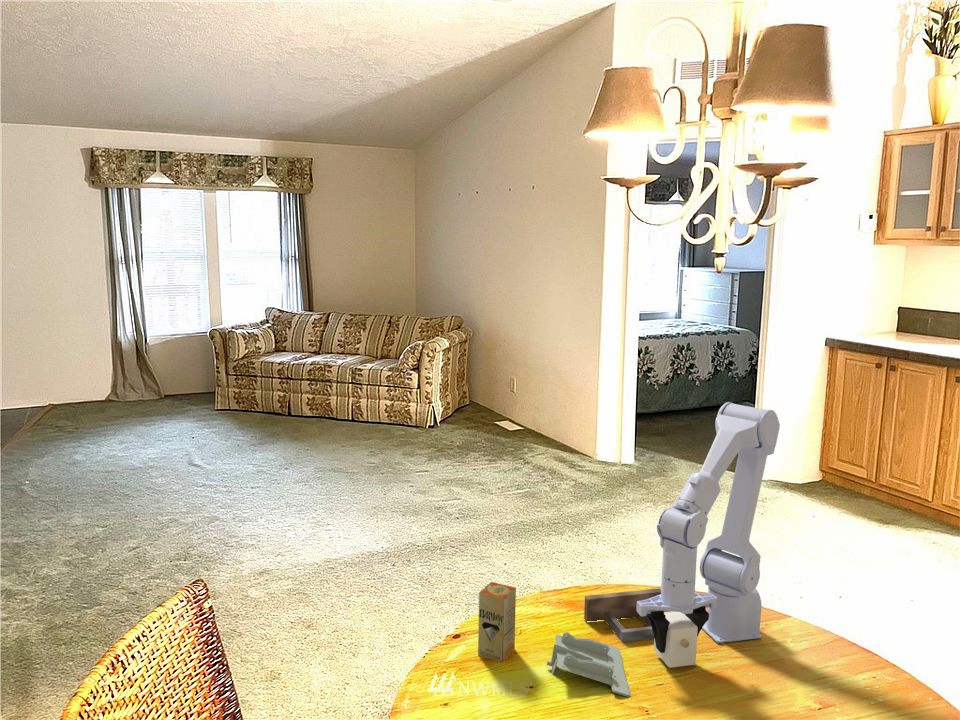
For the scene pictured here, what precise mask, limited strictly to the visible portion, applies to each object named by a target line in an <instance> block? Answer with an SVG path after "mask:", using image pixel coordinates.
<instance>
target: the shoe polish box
mask: <svg viewBox="0 0 960 720" xmlns="http://www.w3.org/2000/svg"><path fill="white" fill-rule="evenodd" d="M516 598H517V587H515V586H510V585H506V584H502V583H498V582H494V581H491V582H490V583H488V584H487V585H486V586H485V587H483V588H482V589H481V590H480V591H479V592H478V632H477V633H478V636H477V637H478V639H477V640H478V645H477V649H478V650H477V653H478V654H477V656H480V657H483V658H486V659H490V660H494V661H497V662H500V663H504V662H505V661H506V660H507V659H508V658H509V657H510V655H511V654H512V653H513V652H514V651H515V649H516V604H517V603H516V601H517V599H516Z"/></svg>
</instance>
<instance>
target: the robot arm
mask: <svg viewBox="0 0 960 720" xmlns="http://www.w3.org/2000/svg"><path fill="white" fill-rule="evenodd" d="M714 425H715V432H716V435H715V438H714V440H713V442H712V444H711V447H710V448H709V451H708V453H707V455H706V458H705V460H704V462H703V463H702V467H701V469H700V471H698V472H694V473H692V474H690V476H689V478H688V479H687V481H686V483H685V484H684V486H683V488H682V489H681V490H680V493H679V495H678V497H677V498H676V500H675V501H674V503H673V506H671V507H669V508H665V509H664V510H663V511H662V512H661V514H660V516H659V518H658V521H657V522H658V523H657V524H656V532H657V535H658V537H659V545H660V548H661V549H662V563H661V564H662V566H661V581H660V582H661V585H660V586H661V587H660V589H661V594H660V595H657V596H655V597H652V598H649V599H646V600H642V601H637V610H636V611H637V612H638V614H639V615H640V616H641V617H642V616H646V615H647V617H648V619H649V622H650V624H651V627H652V630H653V633H654V638H655V643H656V648H657V649H658V650H659V651H660V653H665V648H666V635H667V630H668V626H669V624H670V622H669V621H668V620H667V619H666V615H664V613H666V612H681V613H682V614H685V615H686V616H687V617H688V618H689V619H690V620H691V621H692V622H693V623H694V624H695V625H696V626H697V627H698V631H697V638H698V637H699V635H700V632H701V630H703V631H704V632H705V633H706V634H707V635H709V636H710V637H711V638H712V640H714V641H715V642H716V643H717V644H722V643H731V642H739V641H747V640H756V639H761V638H762V637H763V634H761V633H760V629H761V618H762V599H761V595H760V592H759V591H758V589H756V588H757V587H758V584H759V581H760V578H761V570H760V569H761V568H760V566H761V565H760V564H761V555H760V553H759V552H758V550H757V549H756V547H754V545H753V544H752V543H751V541H750V536H751V533H752V528H753V523H754V519H755V514H756V510H757V509H756V508H757V506H758V505H757V504H758V501H759V495H760V492H761V487H762V482H763V477H764V472H765V468H766V463H767V459H768V456H771V455H774V454H775V450H776V449H775V448H776V446H777V443H778V437H779V432H780V426H781V425H780V421H779V418H778V415H777V413H776V412H775V410H773V409H763V408H759V407H753V406H747V405H742V404H738V403H737V404H736V403H733V402H731V401H727V402H725V403H723V405H722V406H721V407H720V408H719V409H718V412H717V415H716V418H715V424H714ZM736 456H737V460H736V464H735V465H736V466H735V470H734V474H733V475H734V476H733V479H732V484H731V489H730V493H729V499H728V502H727V507H726V512H725V516H724V520H723V525H722V529H721V534H720V535H718V536H716V537H714V538H711V539H710V540H707V543H706V547H705V550H704V552H703V554H702V556H701V558H700V561H699V572H700V576H701V578H703V579H704V581H705V582H704V585H706V586H708V587H707V588H708V589H707V593H701V592H700V593H698V592H696V577H697V575H696V574H697V560H698V559H697V554H698V546H699V545H700V544H701V542H702V541H703V539H704V538H705V534H706V529H707V525H708V522H709V518H708V515H709V513H710V511H711V509H712V507H713V506H714V504H715V502H716V500H717V498H718V497H719V495H720V494H721V493H720V492H721V487H720V484H719V481H720V480H721V478H722V476H723V475H724V474H725V472H726V471H727V470H728V468H729V467H730V465H731V463H732V462H733V461H734V459H735V458H736Z"/></svg>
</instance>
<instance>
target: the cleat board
mask: <svg viewBox="0 0 960 720" xmlns="http://www.w3.org/2000/svg"><path fill="white" fill-rule="evenodd" d="M660 594H661V587H659V588H649V589H642V590H640V589H639V590H630V591H623V592H620V591H619V592H611V593H601V594H591V595H585V596H584V609H583V610H584V611H583V612H584V613H583V614H584V615H583V620H584V619H585V620H586V621H597V620H605V621H606V622H607V623H608V624H609V626H610V627H611V628H612V629H611V628H610V627H609V626H608V627H609V628H610V629H611V631H612V630H613V631H614V632H615V633H614V632H613V631H612V632H613V633H614V634H615V636H616V635H617V636H616V637H617V638H618V640H619V641H620V640H621V641H622V642H621V643H629V642H637V641H645V640H646V641H647V640H654V633H653V630H652V627H651V624H650V622H649V619H648V617H647V615H646V616H642V617H641V616H640V615H639V614H638V612H637V611H636V610H637V601H642V600H646V599H649V598H652V597H655V596H657V595H660ZM633 617H640V620H641V619H642V620H643V621H644V622H645V623H646V624H647V625H646V624H645V623H644V622H643V621H642V620H641V621H642V622H643V623H644V624H645V625H646V626H643V627H634V628H633V627H632V628H625V627H624V625H622V624H621V623H620V620H617V619H621V618H631V619H634V618H633ZM585 620H584V621H585ZM605 621H604V622H605ZM606 622H605V623H606ZM607 623H606V624H607ZM608 624H607V625H608Z"/></svg>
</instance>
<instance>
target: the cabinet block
mask: <svg viewBox="0 0 960 720" xmlns="http://www.w3.org/2000/svg"><path fill="white" fill-rule="evenodd" d="M664 615H666V619H667V620H668V621H669V622H670V624H669V626H668V630H667V635H666V648H665V653H660V651H659V650H658V649H657V648H656V643H655V638H654V639H653V641H654V642H653V651H654V652H655V653H656V654H657V656H659V658H660V659H661V660H662V661H663V662H664V663H665V665H666V666H667V667H668V668H669V669H671V668H678V667H685V666H693V665H696V661H697V660H696V659H697V649H698V648H697V647H698V646H697V645H698V644H697V643H698V637H697V631H698V627H697V626H696V625H695V624H694V623H693V622H692V621H691V620H690V619H689V618H688V617H687V616H686V615H685V614H682V613H681V612H674V611H669V612H664Z"/></svg>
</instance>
